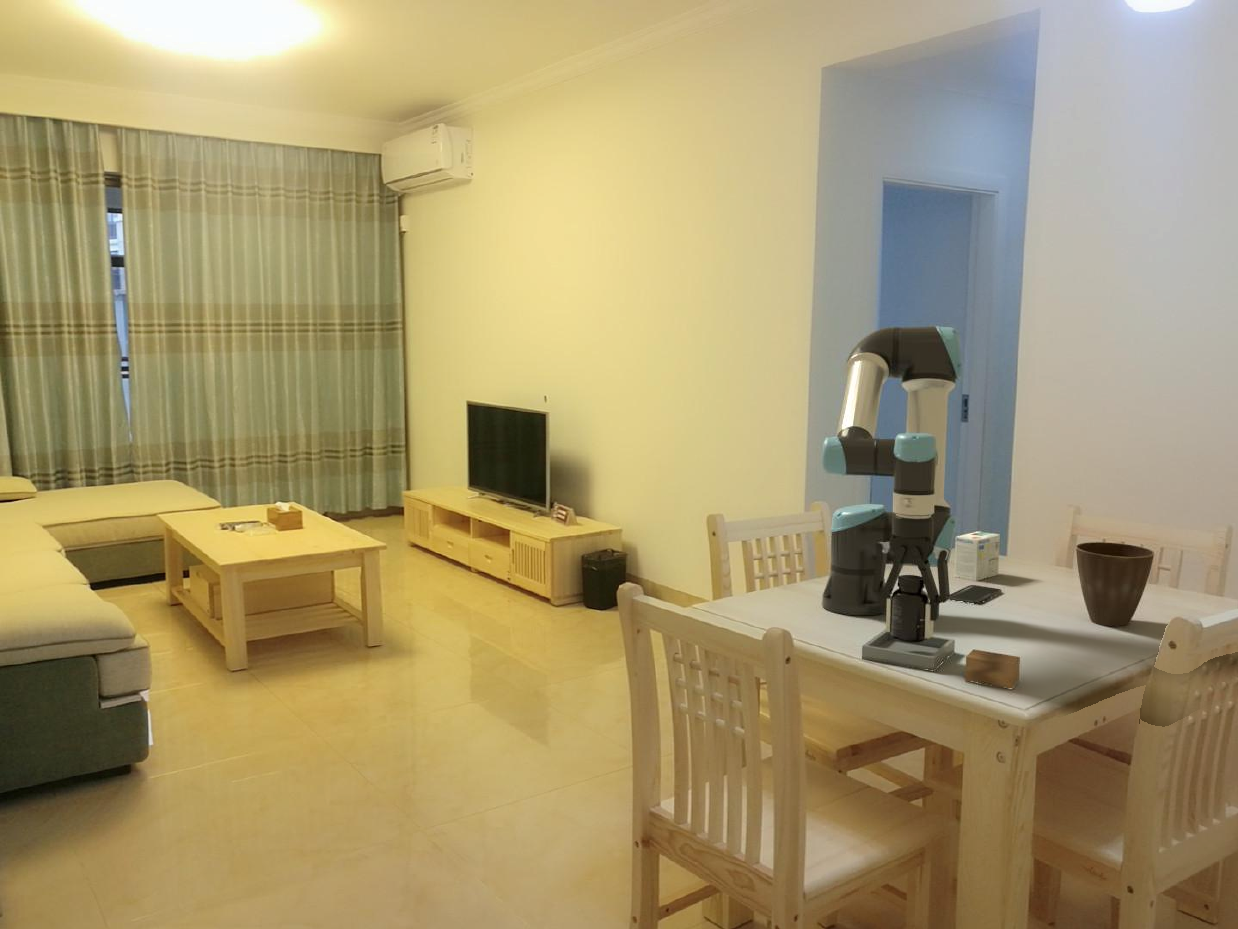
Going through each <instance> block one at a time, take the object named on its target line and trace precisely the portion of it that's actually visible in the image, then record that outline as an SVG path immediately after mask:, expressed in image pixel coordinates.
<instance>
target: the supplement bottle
mask: <svg viewBox="0 0 1238 929" xmlns="http://www.w3.org/2000/svg"><path fill="white" fill-rule="evenodd" d="M896 583H897V587H898V588H897V589H895V590H893V591H892V594H891V596H892V612H891V636H892V638H893V639H895V640H898V641H901V642H908V643H919V642H924V641H925V640H926V639H927V638H925V615H926V604H927V603H929V602H930V600H929V597H928V594H927V591H925V590H924V589H925V585H924V582H923V578H922V575H921V576H920V575H915V574H902V575H899V576H898V579H897V582H896Z"/></svg>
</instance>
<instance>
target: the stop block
mask: <svg viewBox="0 0 1238 929" xmlns="http://www.w3.org/2000/svg"><path fill="white" fill-rule="evenodd" d="M1020 665H1021V657H1020V656H1017V655H1011V654H1010V655H1009V654H1005V653H1004V654H1003V653H999V652H998V653H997V652H992V651H986V650H979V649H972V650H971V651H970V652H969V653H968V654H967V655H966V656H965V674H964V675H965V676H964V681H965V682H967V681H973V682H978V683H981V684H980V685H983V684H987V685H986V686H989V685H992V686H991V687H994V686H996V688H1000V687H1006V688H1012V689H1014V688H1015V687H1016V686H1017V685H1018V683H1019V682H1020ZM1018 681H1019V682H1018ZM1017 682H1018V683H1017ZM978 683H977V684H978ZM1016 684H1017V685H1016ZM1015 685H1016V686H1015ZM1014 686H1015V687H1014ZM1013 687H1014V688H1013Z"/></svg>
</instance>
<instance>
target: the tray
mask: <svg viewBox="0 0 1238 929" xmlns="http://www.w3.org/2000/svg"><path fill="white" fill-rule="evenodd" d="M955 641H956V639H953V638H946V637H941V636H934V635H932V636H931V637H930V638H929V639H928V638H927V639H926V640H925V641H924V642H919V643H908V642H901V641H898V640H895V639H893V638H892V636H891V632H886V628H885V629H884V630H883V631H880V632H879V633H878V634H877V635H875V636H874V637H873V638H871V639H869V640H868V641H867V642H866V643H864V644H863V645H862V646H861V647H862V648H861V649H862V650H861V659H863V660H868V661H874V662H879V663H884V664H890V665H895V664H896V666H900V665H901V666H902V667H906V666H908V668H912V667H913V669H917V668H919V669H918V670H923V669H928V670H933V671H932V672H935V671H934V670H935V669H936V668H937V667H938V666H939V665H940V664H941V663H942V662H943V663H945V661H947V660H948V659H947V657H948V656H950V655H951V654H952V653H953V652H954V653H955V646H956V645H955V643H956V642H955ZM954 653H953V654H954ZM953 654H952V655H953ZM952 655H951V656H952ZM951 656H950V657H951ZM943 663H942V664H943ZM942 664H941V665H942ZM941 665H940V666H941ZM940 666H939V667H940ZM939 667H938V668H939ZM938 668H937V669H938ZM937 669H936V670H937ZM928 670H927V671H928Z"/></svg>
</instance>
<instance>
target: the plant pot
mask: <svg viewBox="0 0 1238 929" xmlns="http://www.w3.org/2000/svg"><path fill="white" fill-rule="evenodd" d="M1075 551H1076V561H1077V562H1076V563H1077V571H1078V577H1079V582H1080V588H1081V593H1082V596H1083V600H1084V604H1085V607H1086V610H1087V614H1088V617H1089V620H1090V621H1091V622H1093V623H1095V624H1097V625H1102V626H1107V627H1117V628H1118V627H1121V628H1122V627H1126V626H1128V625H1129V624H1130V623H1131V620H1132V619H1133V617H1134V615H1135V613H1136V611H1137V609H1138V607H1139V603H1140V602H1141V599H1142V597H1143V594H1144V592H1145V589H1146V585H1147V583H1148V580H1149V577H1150V574H1151V570H1152V565H1153V561H1154V558H1155V552H1154V551H1153V550H1151V549H1149V548H1147V547H1142V546H1139V545H1138V546H1137V545H1134V544H1129V543H1127V544H1126V543H1120V542H1108V541H1107V542H1105V541H1104V542H1102V541H1094V542H1093V541H1092V542H1083V543H1079V544H1076V545H1075Z"/></svg>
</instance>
